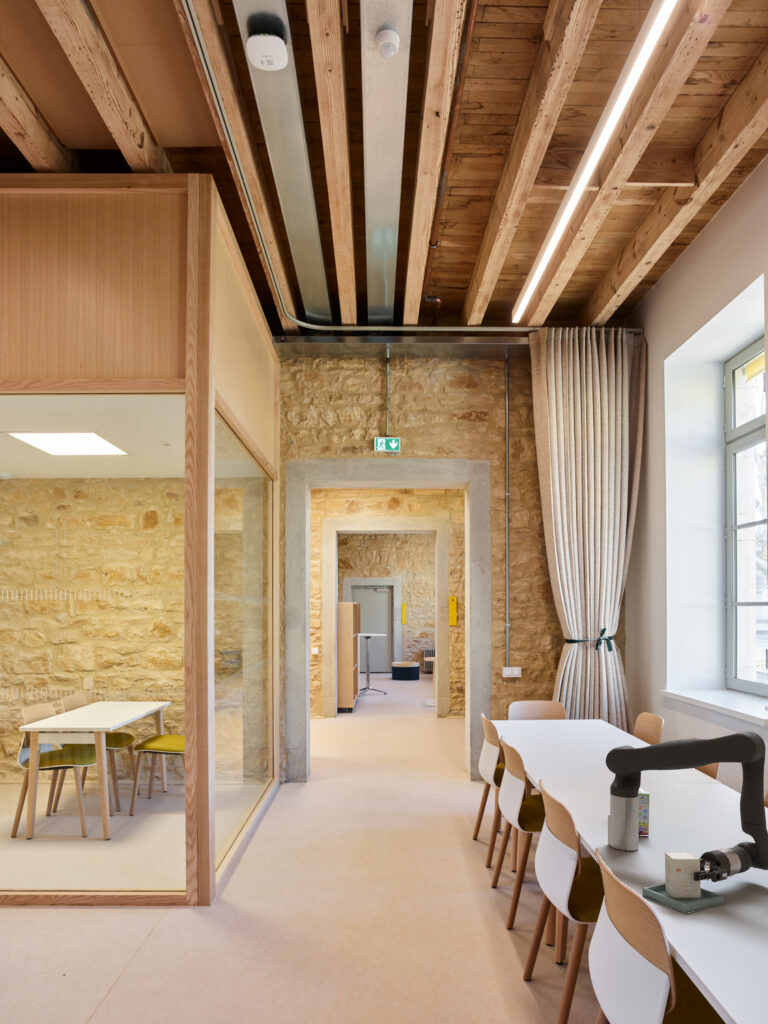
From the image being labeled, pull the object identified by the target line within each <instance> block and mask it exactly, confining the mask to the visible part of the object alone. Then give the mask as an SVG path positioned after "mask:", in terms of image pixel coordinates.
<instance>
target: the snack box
mask: <svg viewBox="0 0 768 1024" xmlns="http://www.w3.org/2000/svg"><path fill="white" fill-rule="evenodd" d="M649 825H650V793H649V792H647V790H645V789H643V788H642V787H641V786H640V788H639V791H638V835H649V833H650V832H649V831H650V830H649V829H650V826H649Z"/></svg>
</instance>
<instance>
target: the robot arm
mask: <svg viewBox="0 0 768 1024" xmlns="http://www.w3.org/2000/svg"><path fill="white" fill-rule="evenodd" d="M766 750H767V749H766V743H765V741H764V739H763V738H762V736H760V735H759V734H758V733H756V732H754V731H739V732H735V733H731V734H727V735H724V736H720V737H714V738H680V739H674V740H668V741H664V742H663V741H662V742H658V743H655V744H650V745H647V746H644V747H636V748H635V747H633V746H631V745H622V746H618V747H614V748H612V749H611V750H609V752H608V753H607V755H606V757H605V765H606V768H607V770H609V771H610V772H611V773H612V774H614V775H615V776H614V779H613V782H612V783H611V784H610V786H609V787H610V788H609V789H610V790H609V804H610V805H609V814H608V815H607V844H608V845H609V844H610V845H609V846H610V847H611V846H612V847H611V848H612V849H615V848H616V850H619V849H620V850H619V851H625V850H627V851H628V852H631V851H632V852H633V851H637V850H638V849H639V836H638V791H639V788H640V787H641V783H642V779H641V778H642V772H644V771H676V770H677V771H678V770H688V769H689V770H690V769H696V768H701V767H704V766H708V765H711V764H717V763H735V764H736V763H739V764H741V768H742V784H741V785H742V786H741V789H740V790H741V792H740V799H739V811H740V812H739V813H740V814H739V815H740V825H741V831H742V832H743V833H744V834H747V835H748V836H750V837H751V838H752V839H753V841H754V842H752V841H751V842H750V841H742V842H738V843H737V844H735V845H734V846H733V847H729V848H720V849H715V850H711V851H706V852H703V853H702V855H701V856H700V857H698V858H699V859H700V871H698V872H694V881H700V882H701V881H710V880H711V882H712V883H717V882H721V881H725V880H727V879H728V878H730V877H733V876H735V875H737V874H742V873H745V872H747V871H749V870H750V869H751V868H754V869H759V870H762V871H768V828H767V827H768V826H767V817H766V806H765V795H764V794H765V791H764V790H765V787H764V785H765V784H764V783H765V782H764V781H765V764H766V763H765V761H766ZM627 851H626V852H627Z"/></svg>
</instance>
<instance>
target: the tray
mask: <svg viewBox="0 0 768 1024" xmlns="http://www.w3.org/2000/svg"><path fill="white" fill-rule="evenodd" d="M700 890H701V897H694V898H690V897H688V898H674V897H672V896H671V895H670V894H669V893H668V892H667V891H666V886H665V882H663V883H659V884H653V885H649V886H645V887H642V896H643V897H645V896H646V897H645V898H647V899H650V900H652V901H654V902H656V903H659V904H661V903H662V904H661V905H663V906H666V905H667V906H666V907H668V906H669V908H671V907H672V908H671V909H673V908H674V909H673V910H675V909H676V910H675V911H677V910H679V911H678V912H680V911H681V912H680V913H682V912H684V913H687V914H689V913H688V912H691V913H693V912H692V911H695V912H699V911H702V909H703V910H707V909H710V908H714V907H718V906H722V905H724V896H722V895H721V894H717V893H715V892H713V891H710V890H709V889H708V890H707V889H705V888H703V887H700ZM706 908H707V909H706ZM698 910H699V911H698ZM684 913H683V914H684Z"/></svg>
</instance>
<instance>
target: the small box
mask: <svg viewBox="0 0 768 1024" xmlns="http://www.w3.org/2000/svg"><path fill="white" fill-rule="evenodd" d="M699 858H700V857H698V856H696V855H695V854H694V853H692V852H665V853H664V869H665V870H664V873H665V875H664V877H665V878H664V879H665V881H664V883H665V886H666V891H667V892H668V893H669V894H670V895H671V896H672V897H674V898H688V897H690V898H694V897H701V890H700V888H701V881H694V872H698V871H700V859H699Z"/></svg>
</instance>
